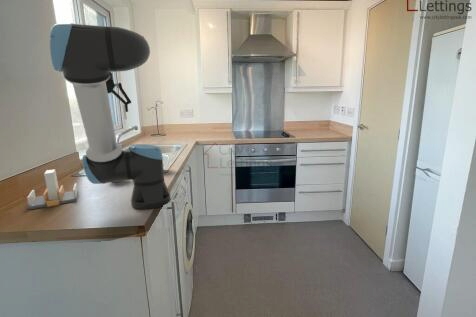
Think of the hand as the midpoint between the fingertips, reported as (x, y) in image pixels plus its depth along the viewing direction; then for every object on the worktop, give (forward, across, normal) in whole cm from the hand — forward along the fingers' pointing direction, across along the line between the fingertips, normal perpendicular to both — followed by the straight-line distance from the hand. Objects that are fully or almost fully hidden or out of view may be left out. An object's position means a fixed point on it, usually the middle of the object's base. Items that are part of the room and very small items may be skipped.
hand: (109, 120), depth 119 cm
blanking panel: (+30, +25, +6) cm, 40 cm away
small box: (+32, -22, -15) cm, 42 cm away
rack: (+32, +25, +6) cm, 41 cm away
